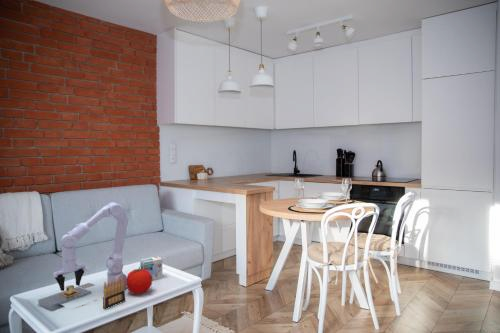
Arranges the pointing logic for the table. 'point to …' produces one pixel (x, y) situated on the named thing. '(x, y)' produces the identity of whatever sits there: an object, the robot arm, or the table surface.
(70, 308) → the table surface
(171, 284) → the table surface
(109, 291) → the ammunition clip
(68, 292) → the brass peg
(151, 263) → the light bulb box
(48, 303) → the plate
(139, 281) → the tomato
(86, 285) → the gray square block
